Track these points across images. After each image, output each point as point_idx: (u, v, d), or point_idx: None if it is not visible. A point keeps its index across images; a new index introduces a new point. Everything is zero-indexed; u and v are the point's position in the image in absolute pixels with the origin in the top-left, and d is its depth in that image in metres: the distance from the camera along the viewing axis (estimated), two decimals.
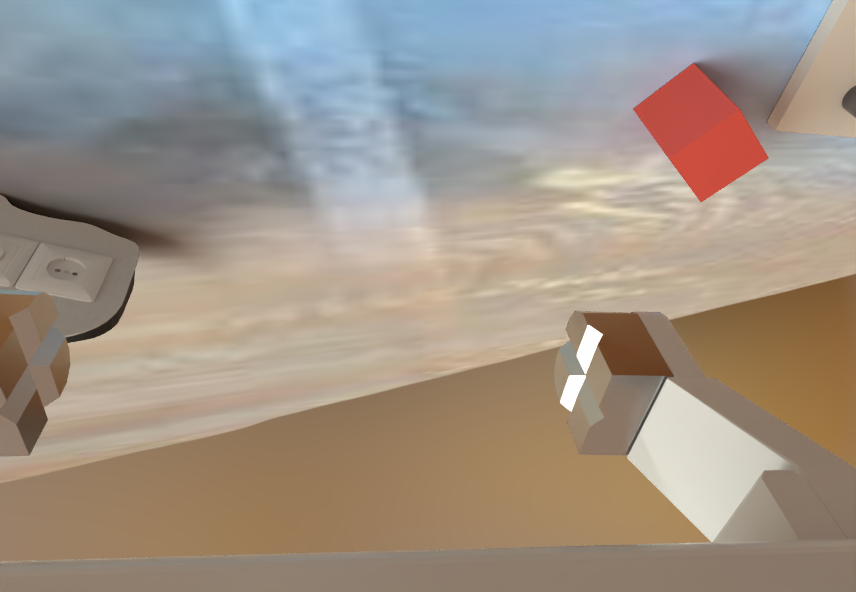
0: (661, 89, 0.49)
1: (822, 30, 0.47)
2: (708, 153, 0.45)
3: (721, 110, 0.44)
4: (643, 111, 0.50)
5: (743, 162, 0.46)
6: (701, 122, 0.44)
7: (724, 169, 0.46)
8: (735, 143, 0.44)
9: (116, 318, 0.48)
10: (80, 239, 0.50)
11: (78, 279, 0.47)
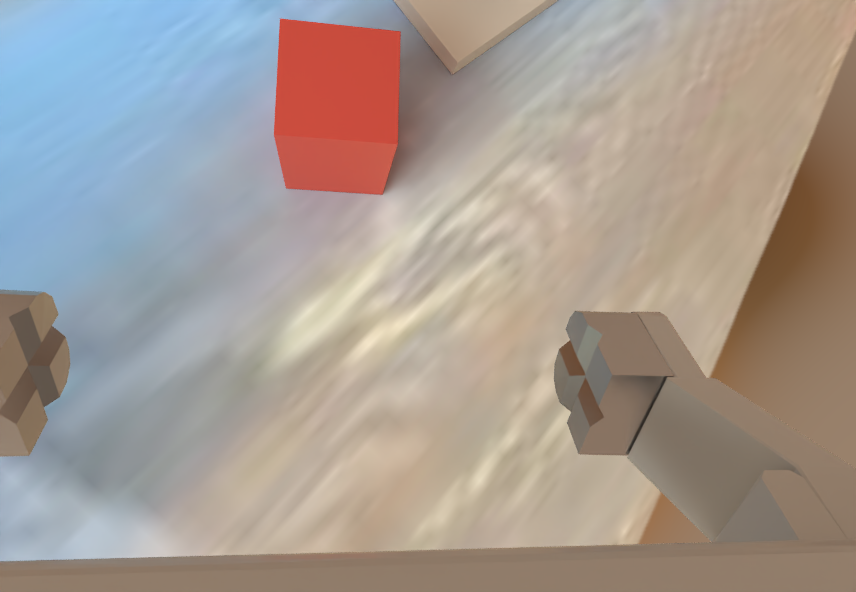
0: None
1: None
2: (316, 88, 0.27)
3: None
4: None
5: (377, 60, 0.28)
6: None
7: (366, 86, 0.28)
8: (332, 51, 0.28)
9: None
10: None
11: None
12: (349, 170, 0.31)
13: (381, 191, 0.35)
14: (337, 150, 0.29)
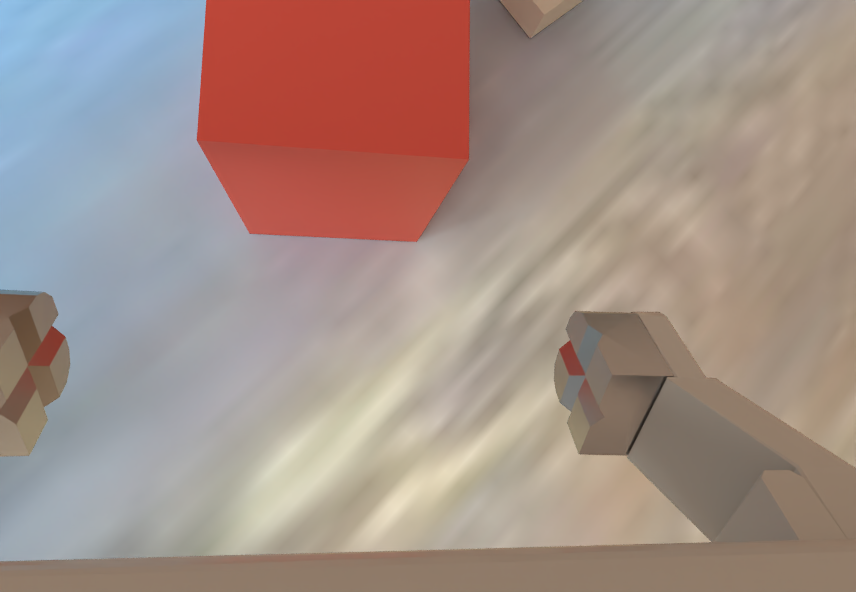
0: None
1: None
2: (292, 38, 0.13)
3: None
4: None
5: None
6: None
7: (400, 36, 0.13)
8: None
9: None
10: None
11: None
12: (362, 207, 0.17)
13: (416, 237, 0.20)
14: (339, 172, 0.14)
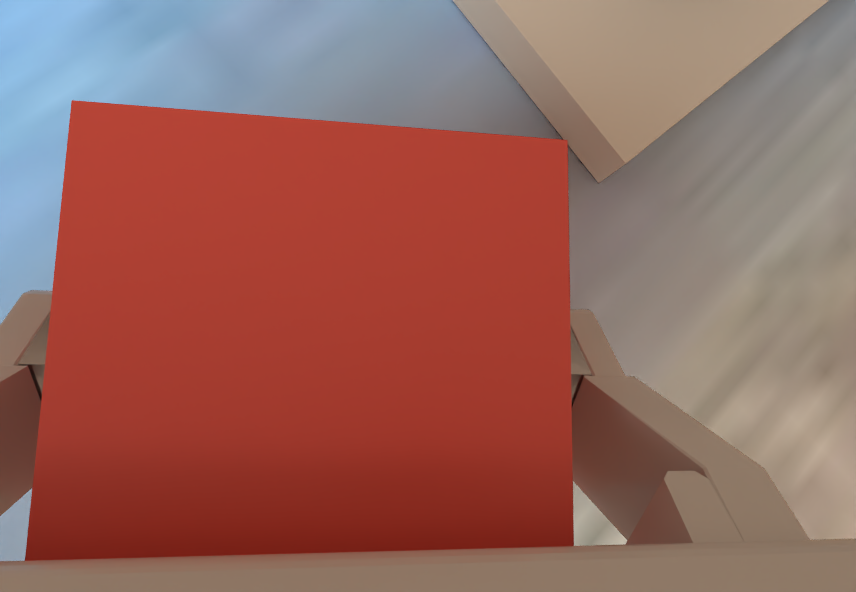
0: None
1: None
2: (223, 405, 0.06)
3: None
4: None
5: (481, 264, 0.07)
6: None
7: (438, 382, 0.07)
8: (299, 235, 0.07)
9: None
10: None
11: None
12: None
13: None
14: None
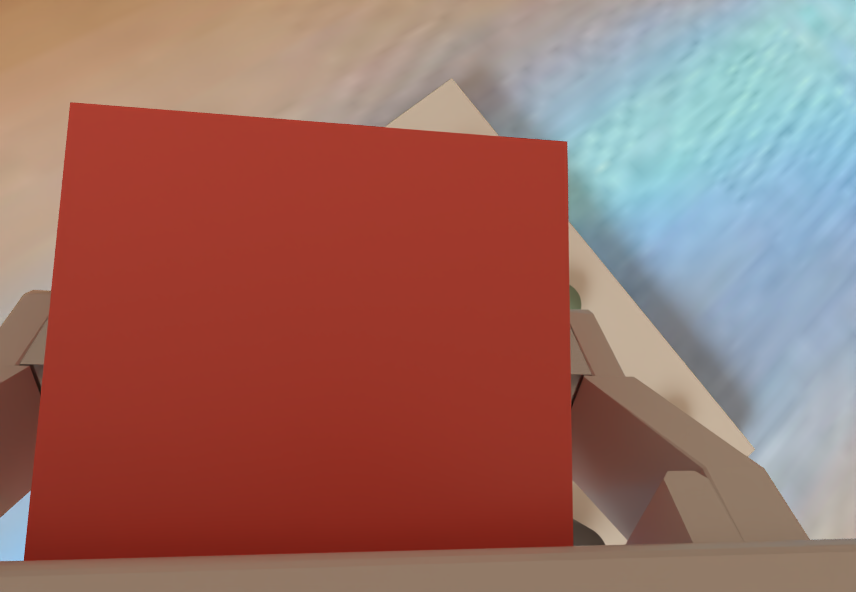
0: None
1: None
2: (222, 407, 0.06)
3: None
4: None
5: (480, 266, 0.07)
6: None
7: (438, 384, 0.07)
8: (298, 238, 0.07)
9: None
10: None
11: None
12: None
13: None
14: None
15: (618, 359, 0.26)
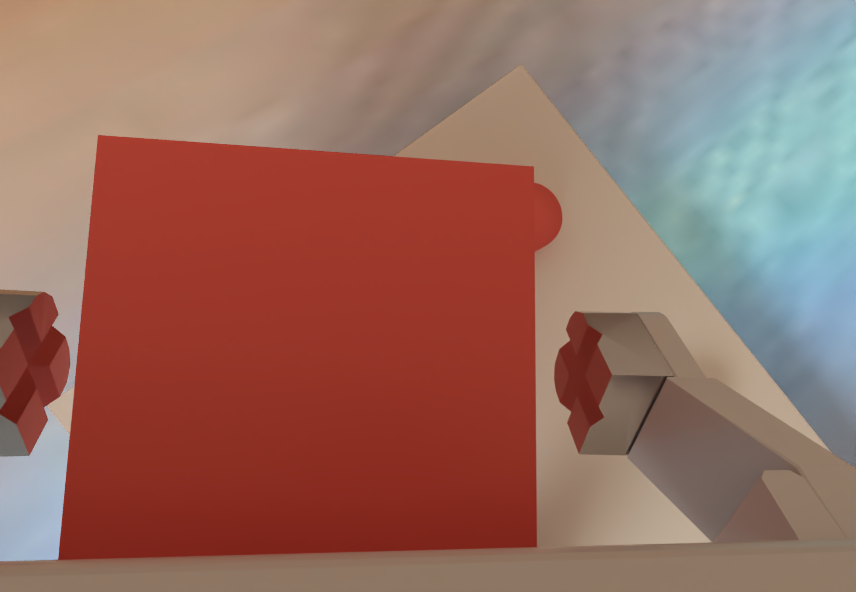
0: None
1: None
2: (231, 400, 0.07)
3: None
4: None
5: (456, 276, 0.08)
6: None
7: (419, 380, 0.08)
8: (296, 252, 0.08)
9: None
10: None
11: None
12: None
13: None
14: None
15: None
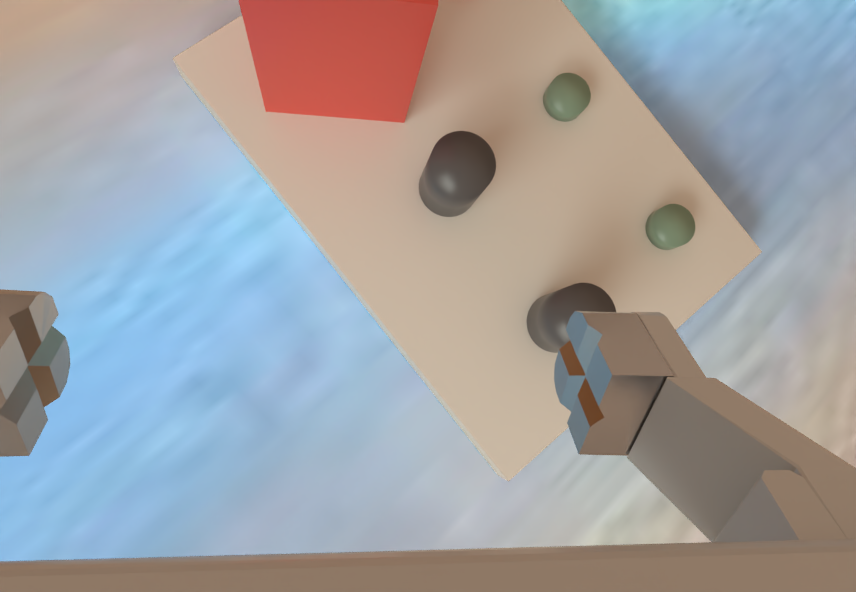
0: None
1: (378, 322, 0.24)
2: None
3: None
4: None
5: None
6: None
7: None
8: None
9: None
10: None
11: None
12: (358, 70, 0.21)
13: (403, 117, 0.24)
14: (339, 23, 0.18)
15: (626, 157, 0.26)
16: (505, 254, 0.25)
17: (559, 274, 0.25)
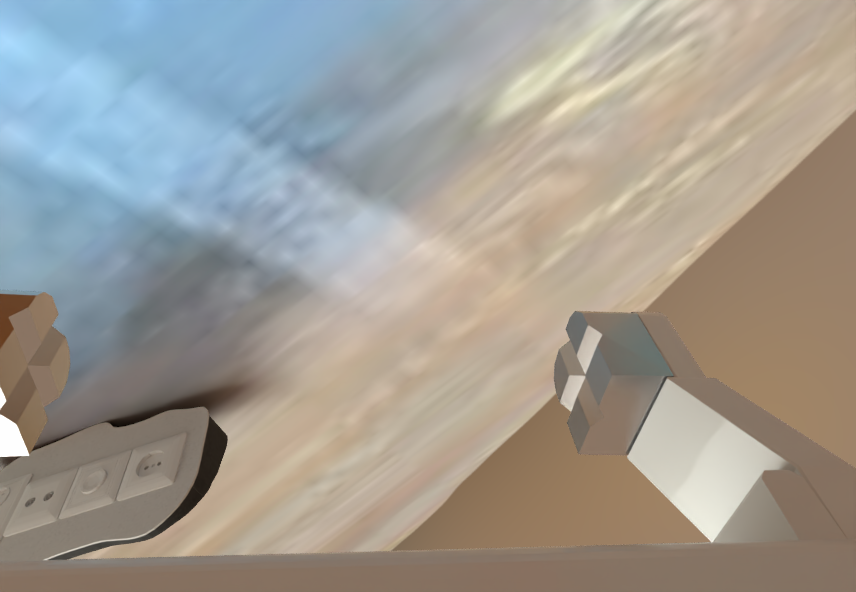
0: None
1: None
2: None
3: None
4: None
5: None
6: None
7: None
8: None
9: (203, 486, 0.50)
10: (163, 428, 0.55)
11: (159, 468, 0.50)
12: None
13: None
14: None
15: None
16: None
17: None
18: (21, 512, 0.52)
